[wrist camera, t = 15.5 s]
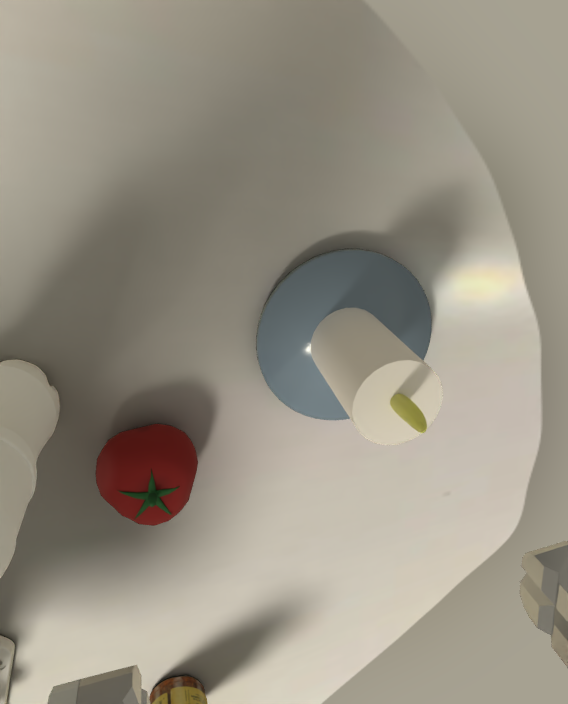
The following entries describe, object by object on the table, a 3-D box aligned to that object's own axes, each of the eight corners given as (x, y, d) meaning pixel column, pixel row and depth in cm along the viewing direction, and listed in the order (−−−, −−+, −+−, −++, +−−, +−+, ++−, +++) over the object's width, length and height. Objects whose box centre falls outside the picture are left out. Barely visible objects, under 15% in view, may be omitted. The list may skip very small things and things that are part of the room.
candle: (337, 393, 46) (411, 506, 33) (295, 339, 43) (357, 438, 30) (397, 349, 46) (497, 445, 32) (358, 292, 43) (450, 371, 29)
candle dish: (406, 409, 50) (414, 417, 49) (248, 413, 47) (251, 422, 46) (438, 250, 45) (447, 254, 43) (261, 242, 41) (264, 246, 40)
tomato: (195, 408, 46) (200, 455, 39) (196, 485, 49) (201, 541, 42) (96, 413, 44) (85, 464, 38) (103, 493, 47) (95, 553, 41)
